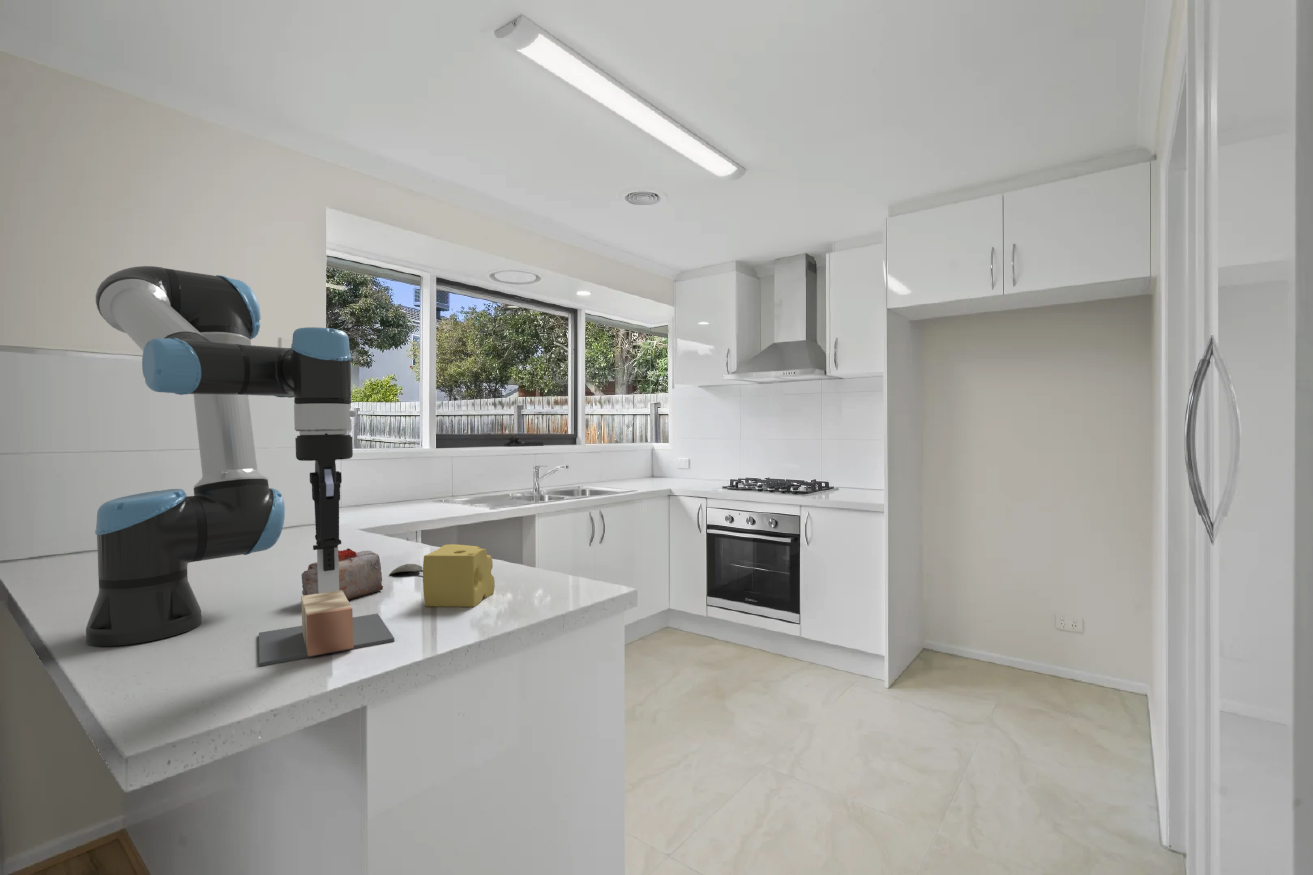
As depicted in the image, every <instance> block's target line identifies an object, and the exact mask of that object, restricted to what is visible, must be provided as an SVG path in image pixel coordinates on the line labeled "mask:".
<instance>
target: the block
mask: <svg viewBox="0 0 1313 875" xmlns="http://www.w3.org/2000/svg"><path fill="white" fill-rule="evenodd" d="M353 615H354V614H353V607H352V605H351V604H350V601H349V600H347V598H346V596H345V594H344V593H343V591H342V590H340V591H333V592H326V593H319V594H311V595H304V596H303V595H301V626H302V633H303V637H304V641H305V645H306V650H307V654H308V656H313V655H318V654H323V655H325V654H324V653H329V652H334V653H336V652H335V651H339V652H341V651H340V650H345V649H350V650H352V649H351V648H353V617H354V616H353ZM345 651H346V650H345ZM329 654H330V653H329ZM318 656H319V655H318ZM313 657H314V656H313Z"/></svg>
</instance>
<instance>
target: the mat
mask: <svg viewBox="0 0 1313 875" xmlns="http://www.w3.org/2000/svg"><path fill="white" fill-rule="evenodd" d="M392 642H395V636H393V634H392V632H391V631H390V630H389V628H388V626H387V625H386V623H385V622H384V621H383V619H382V618H381V616H380V614H379V613H371V614H366V615H359V616H353V648H351V649H345V650H340V651H335V652H329V653H324V654H318V655H313V656H308V654H307V650H306V645H305V641H304V637H303V633H302V625H299V626H291V627H284V628H279V629H273V630H267V631H261V632H258V650H259V651H258V654H259V655H258V656H259V667H265V666H269V665H274V664H279V663H285V662H290V661H296V660H301V659H302V660H303V659H307V658H312V657H317V656H324V655H327V654H333V653H339V652H345V651H349V650H354V649H355V650H356V649H360V648H367V647H371V646H376V645H381V644H387V643H392Z"/></svg>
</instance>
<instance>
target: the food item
mask: <svg viewBox="0 0 1313 875" xmlns="http://www.w3.org/2000/svg"><path fill="white" fill-rule="evenodd" d="M338 561H339V591H340V590H342V591H343V593H344V594H345V596H346V598H347V600H348V601H349V600H353V599H356V598H360V597H363V596H367V595H370V594H371V595H372V594H374V593H378V592H380V591H382V590H384V589H383V588H384V585H383V584H382V583H383V575H382V566H381V565H382V564H381V559H380V555H379V554H378V553H376V552H374V551H372V550H362V551H358V552H356V551H354V550H352V549H350V548H346V549H343V550H339V549H338ZM301 584H302V585H301V586H302V591H301V593H302V596H304V595H311V594H319V592H318V570H317V562H315V561H314V562H312V563H310V564H308V566H307V570H305V571H303V572H302V573H301Z"/></svg>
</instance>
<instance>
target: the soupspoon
mask: <svg viewBox="0 0 1313 875" xmlns="http://www.w3.org/2000/svg"><path fill="white" fill-rule="evenodd" d="M404 572H416V573H423V565H421V564H420V565H419V564H416V563H406V564H402V565H399V566H397V567H395V569H393V570H392V571H391V572H390V573H389V576H391V575H393V574H396V573H397V574H398V573H404Z"/></svg>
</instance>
